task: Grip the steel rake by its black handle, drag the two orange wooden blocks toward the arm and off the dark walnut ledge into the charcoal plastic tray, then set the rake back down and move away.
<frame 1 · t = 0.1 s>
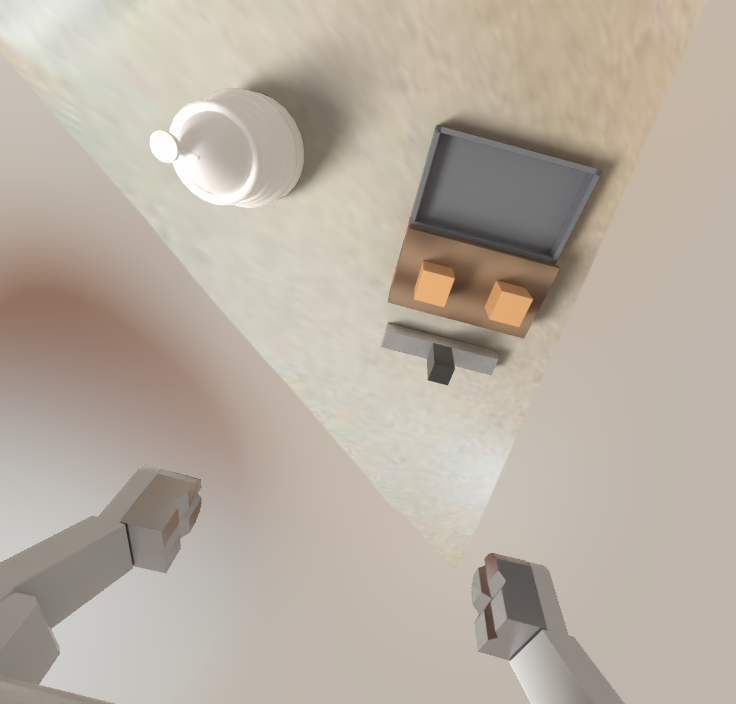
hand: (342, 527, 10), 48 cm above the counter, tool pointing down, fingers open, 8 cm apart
block a: (433, 278, 51), point 5 cm above the counter, touching ledge
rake: (438, 343, 61), on the counter
block b: (504, 297, 51), point 5 cm above the counter, touching ledge
honey pot: (257, 150, 50), on the counter
ledge: (465, 274, 55), on the counter
tray: (495, 195, 49), on the counter
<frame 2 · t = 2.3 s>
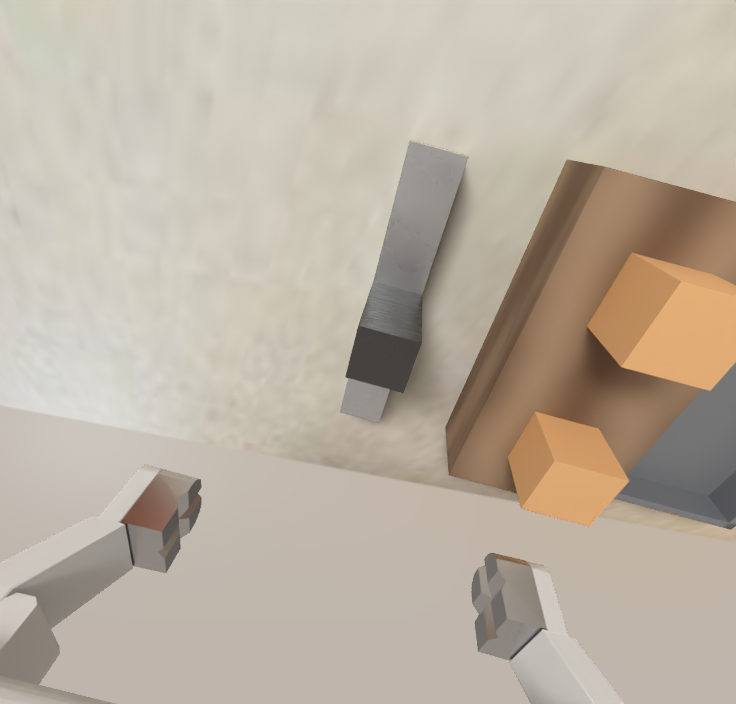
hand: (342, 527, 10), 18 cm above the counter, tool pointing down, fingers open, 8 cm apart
block a: (646, 301, 19), point 5 cm above the counter, touching ledge
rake: (394, 292, 26), on the counter
block b: (551, 443, 24), point 5 cm above the counter, touching ledge
ledge: (568, 340, 26), on the counter
tray: (724, 382, 26), on the counter
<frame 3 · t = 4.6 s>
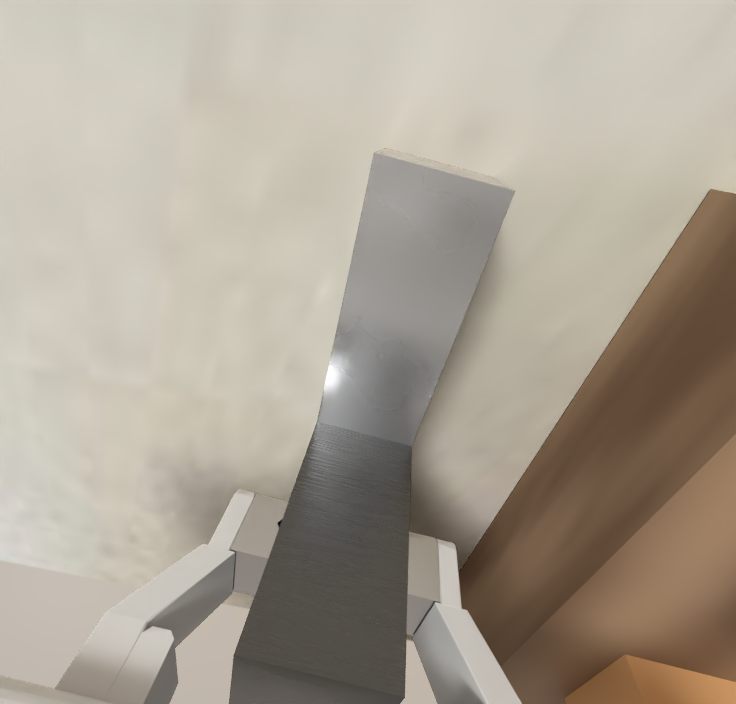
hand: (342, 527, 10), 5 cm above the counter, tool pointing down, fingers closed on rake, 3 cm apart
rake: (365, 409, 15), on the counter, touching gripper
block b: (647, 691, 13), point 5 cm above the counter, touching ledge
ledge: (663, 487, 15), on the counter
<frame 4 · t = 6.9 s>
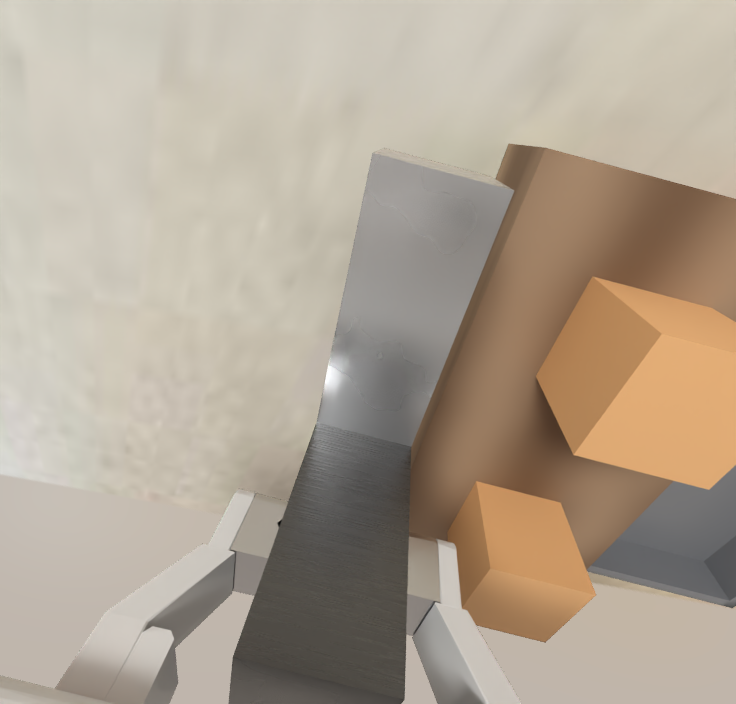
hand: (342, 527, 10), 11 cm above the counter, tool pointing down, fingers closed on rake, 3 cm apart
block a: (617, 344, 13), point 5 cm above the counter, touching ledge
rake: (365, 409, 15), point 6 cm above the counter, touching gripper
block b: (500, 518, 18), point 5 cm above the counter, touching ledge
ledge: (525, 379, 20), on the counter
tray: (724, 431, 20), on the counter
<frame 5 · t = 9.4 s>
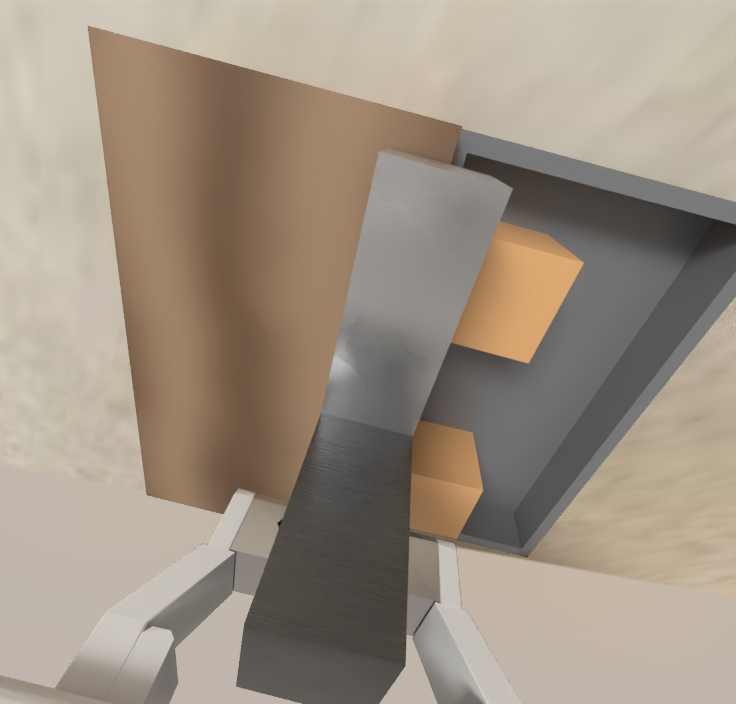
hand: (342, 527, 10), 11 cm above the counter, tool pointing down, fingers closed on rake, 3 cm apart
block a: (441, 269, 15), point 3 cm above the counter, tilted 90°, touching tray
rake: (367, 402, 15), point 5 cm above the counter, touching gripper
block b: (393, 467, 21), point 3 cm above the counter, tilted 90°, touching tray
ledge: (288, 319, 20), on the counter
tray: (491, 371, 20), on the counter
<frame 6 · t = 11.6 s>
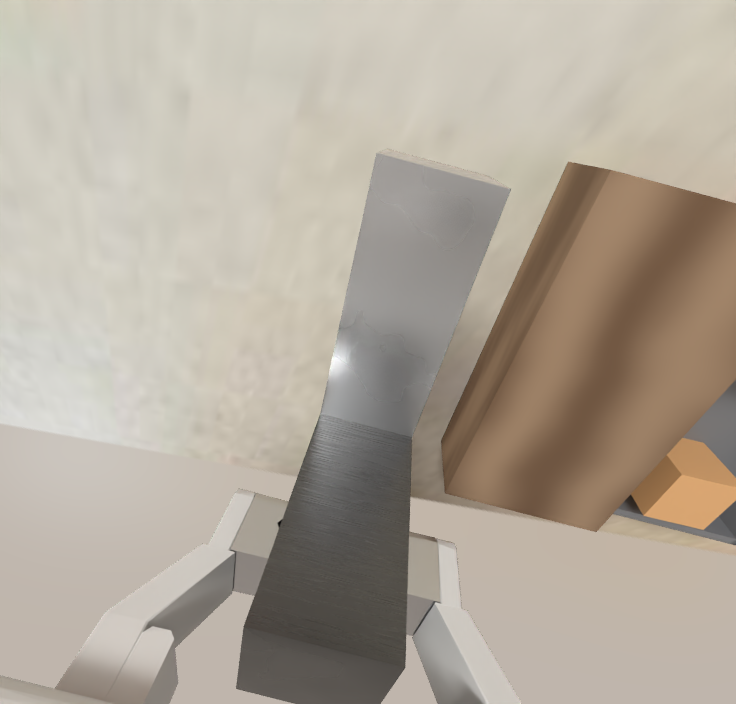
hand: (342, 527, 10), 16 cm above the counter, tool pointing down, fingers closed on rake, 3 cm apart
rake: (367, 403, 15), point 10 cm above the counter, touching gripper
block b: (645, 471, 25), point 3 cm above the counter, tilted 90°, touching tray
ledge: (569, 351, 24), on the counter
tray: (732, 393, 24), on the counter
when the fingers open (6 cm above the counter, at t = 13.6 s): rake stays where it is, on the counter.
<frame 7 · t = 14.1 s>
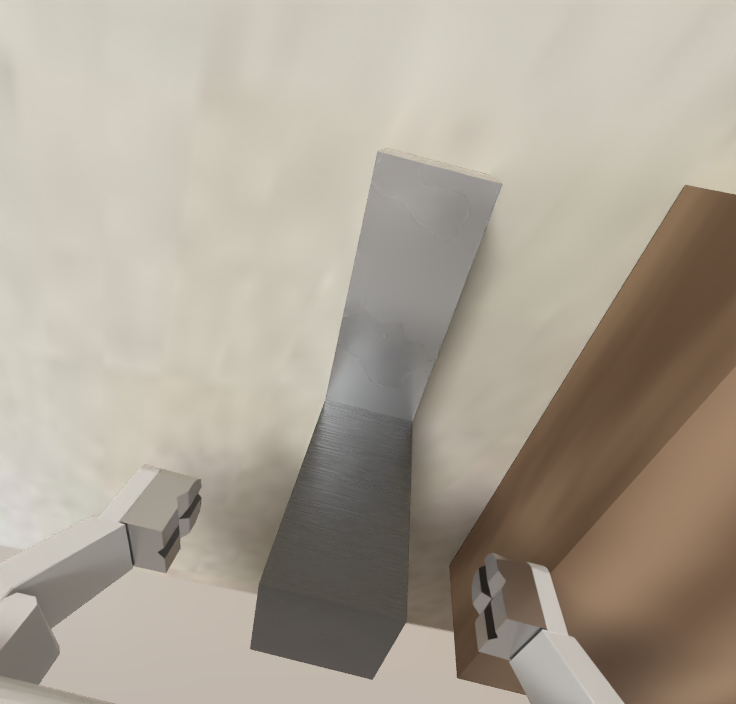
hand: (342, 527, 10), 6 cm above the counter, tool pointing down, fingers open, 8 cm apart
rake: (369, 392, 16), on the counter
ledge: (649, 468, 16), on the counter
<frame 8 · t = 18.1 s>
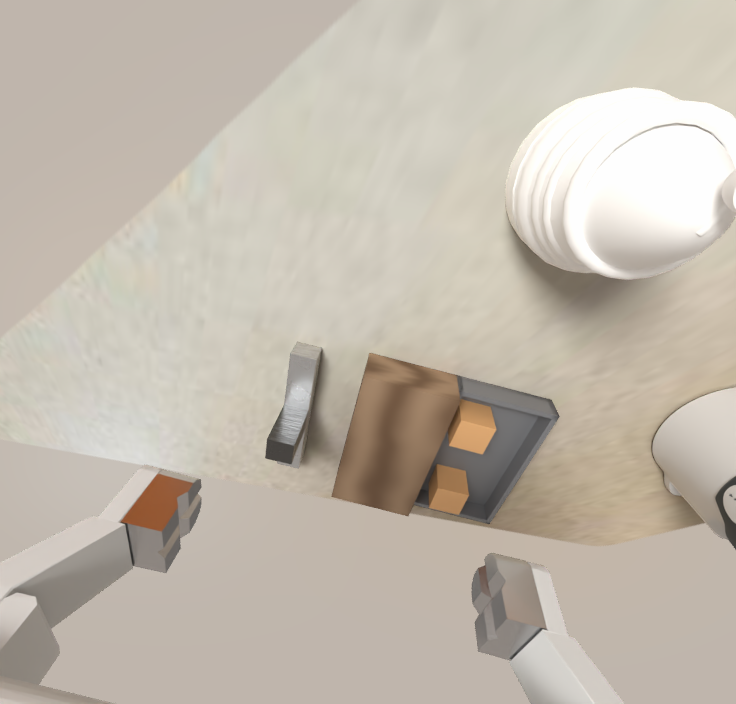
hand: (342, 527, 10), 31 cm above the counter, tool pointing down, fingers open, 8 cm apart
block a: (453, 421, 44), point 3 cm above the counter, tilted 90°, touching tray
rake: (301, 401, 49), on the counter
block b: (432, 485, 50), point 3 cm above the counter, tilted 90°, touching tray
honey pot: (581, 182, 33), on the counter
ledge: (391, 426, 49), on the counter
tray: (472, 447, 49), on the counter
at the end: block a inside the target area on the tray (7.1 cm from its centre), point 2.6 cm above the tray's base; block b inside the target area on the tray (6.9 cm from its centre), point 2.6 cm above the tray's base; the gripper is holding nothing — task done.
